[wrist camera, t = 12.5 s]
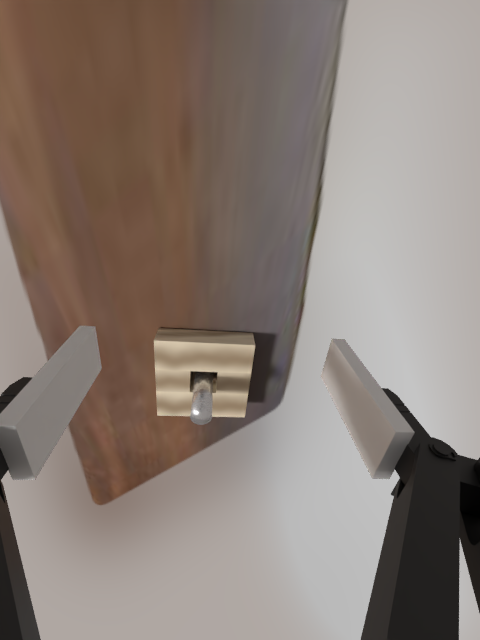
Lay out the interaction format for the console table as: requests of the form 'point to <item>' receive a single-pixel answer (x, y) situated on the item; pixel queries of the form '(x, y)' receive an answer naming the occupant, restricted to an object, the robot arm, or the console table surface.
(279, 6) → the console table surface
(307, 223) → the console table surface
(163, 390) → the bore block
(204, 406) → the pin
